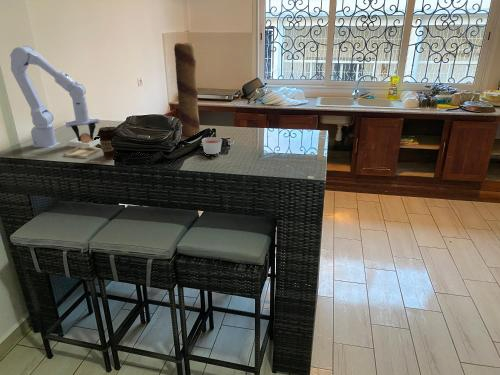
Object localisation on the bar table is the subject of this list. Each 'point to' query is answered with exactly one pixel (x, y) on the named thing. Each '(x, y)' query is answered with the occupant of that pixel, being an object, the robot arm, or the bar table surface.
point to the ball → (85, 138)
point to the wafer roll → (187, 88)
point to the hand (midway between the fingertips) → (85, 140)
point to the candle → (212, 145)
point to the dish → (78, 143)
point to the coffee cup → (107, 141)
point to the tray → (82, 152)
